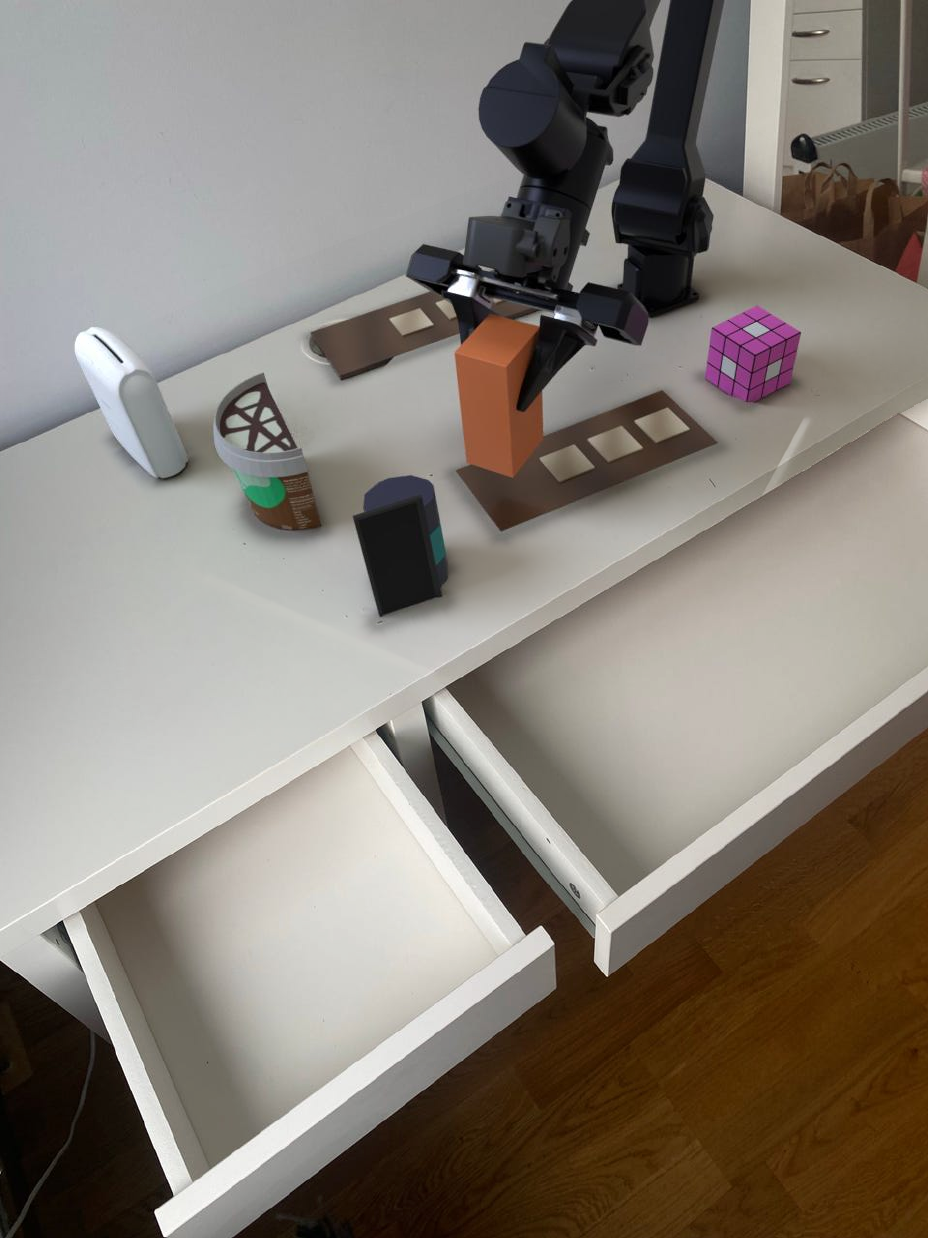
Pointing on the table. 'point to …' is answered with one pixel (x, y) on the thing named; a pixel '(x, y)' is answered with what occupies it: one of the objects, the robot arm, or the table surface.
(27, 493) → the table surface
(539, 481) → the word board
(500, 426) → the tall orange brick
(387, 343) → the word board
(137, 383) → the photo printer
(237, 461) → the food container
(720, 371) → the puzzle toy
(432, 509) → the speaker
